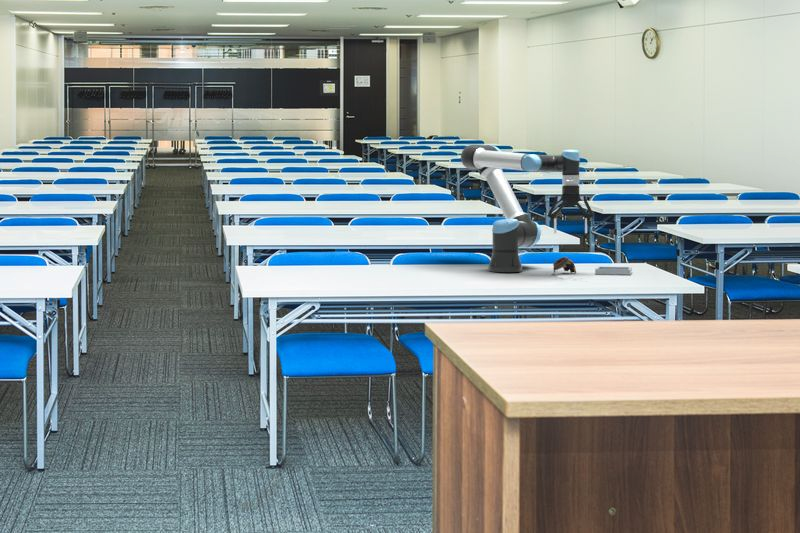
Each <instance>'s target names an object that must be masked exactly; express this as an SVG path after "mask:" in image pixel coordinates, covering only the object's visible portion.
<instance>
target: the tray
mask: <svg viewBox="0 0 800 533" xmlns="http://www.w3.org/2000/svg"><path fill="white" fill-rule="evenodd" d="M632 270H633V266H632V267H631V266H597V267H596V268H595V269H594V272H595V273H594V275H597V276H631V275H632V273H633V271H632Z"/></svg>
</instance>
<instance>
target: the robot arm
mask: <svg viewBox="0 0 800 533" xmlns="http://www.w3.org/2000/svg"><path fill="white" fill-rule="evenodd" d="M561 152H562V153H561V154H553V155H552V154H535V153H534V154H533V153H532V154H531V153H520V152H512V151H511V152H508V151H501V149H499V148H498V147H497V146H494V145H492V144H486V145H485V144H470V145H468V146H465V147H464V148H463V150H462V151H461V154H460V161H461V164H462V165H463V166H464V167H465V168H466V169H468V170H474V171H478V173H479V175H480V178H482V179H485V180H486V182H487V184H488V186H489V188H490V189H491V190H490V191H491V192H492V194H493V196H494V198H495V199H496V202H497V203H498V206H499V208H500V210H501V212H502V214H503V215H504V218H505V219H497V220H495V221H494V222H493V223H492V254H491V258H490V261H489V264H488V272H491V273H493V272H494V273H520V272H521V273H522V272H523V265H522V261H521V259H520V256H519V248H529V247H533V246H535V245H536V244H537V243H539V241H540V238H541V236H542V230H541V226H540V225H539V223H537V222H536V221H533V220H532V219H531V217H530V215H529V214H528V213H527V212H524V211H523V209H522V207H521V205H520V203H519V200H518V199H517V197H516V194H515V193H514V191H513V189H512V187H511V185H510V183H509V181H508V180H507V179H508V178H507V177H506V175H505V173H504V171H503V169H504V170H512V171H513V170H515V171H524V172H525V171H526V172H529V173H534V172H536V173H537V172H538V173H541V172H542V173H548V174H549V173H557V172H558V173H561V174H562V175H561V176H562V180H561V181H562V182H561V183H562V186H561V187H562V188H561V189H562V190H561V196H558V195H556V196H555V197H554V202H553V203H552V205H551V207H550V210H549V212H548V213H547V218H550V219H551V226H553V234H557V218H556V216H558V214H559V213H560V212H561V211H562V210H563V208H565V206H566V207H577V208H578V209H579V211H581V212H582V213H583V215H584V216H585V217H586V218H584V234H588V226H590V225H591V218H593V217H595V214H594V212H593V210H592V208H591V205H590V204H589V202H588V198H587V196H586V195H584V196H580V185H579V184H580V162H581V159H580V152H579V150H577V149H564V150H562V151H561ZM560 201H562V203H561V205H560V206H559V207H558V208H557V210H556V211H555V212H554V210H555V209H556V207H557V205H558V202H560ZM580 201H582V202H583V203H584V205H585V207H586V208H587V210H588V212H587V211H586V210H585V209H584V207H583V206H582V205H581V204H580V203H579V202H580Z"/></svg>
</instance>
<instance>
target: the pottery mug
mask: <svg viewBox="0 0 800 533" xmlns="http://www.w3.org/2000/svg"><path fill="white" fill-rule="evenodd" d="M552 266H553V273H554V274H556V271H558V270H560V269H562V268H563V271H564V272H569V271H570V272H569V273H571V274H572V273H574V274H577V270H576V266H575V263H574V261H573V260H571V259H569V258H568V256H563V257H560V258H558V259H557V260H556V261H554V262H553V264H552Z"/></svg>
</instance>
